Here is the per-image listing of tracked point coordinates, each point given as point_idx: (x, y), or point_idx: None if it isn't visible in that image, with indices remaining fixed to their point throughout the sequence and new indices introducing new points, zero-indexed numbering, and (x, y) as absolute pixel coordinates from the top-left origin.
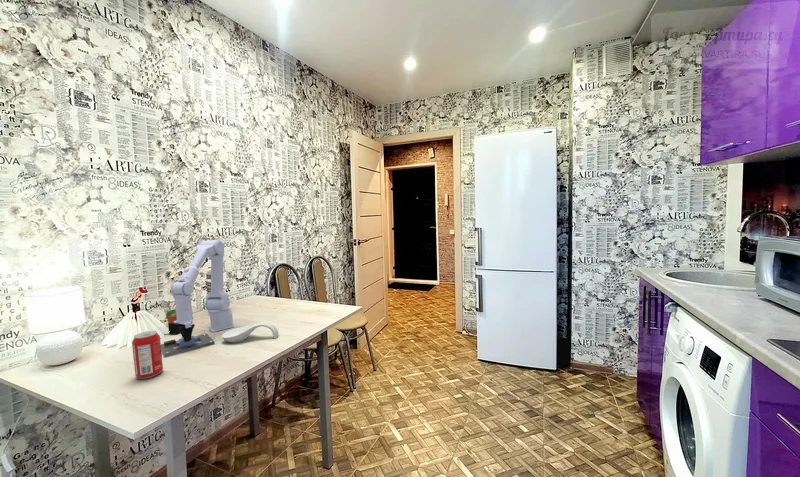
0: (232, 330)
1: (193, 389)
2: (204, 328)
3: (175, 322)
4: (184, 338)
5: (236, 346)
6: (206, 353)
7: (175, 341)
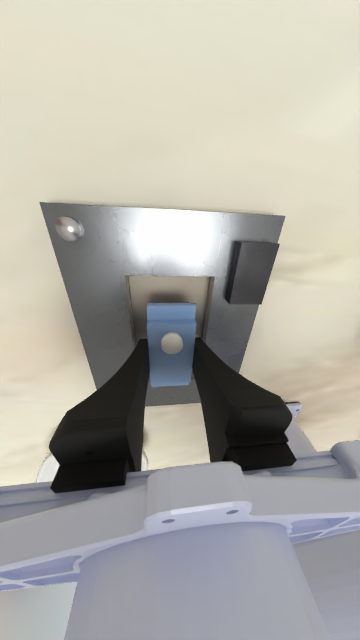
0: (142, 462)
1: None
2: (317, 393)
3: (145, 504)
4: (132, 353)
5: (32, 435)
6: (4, 370)
7: (228, 301)
